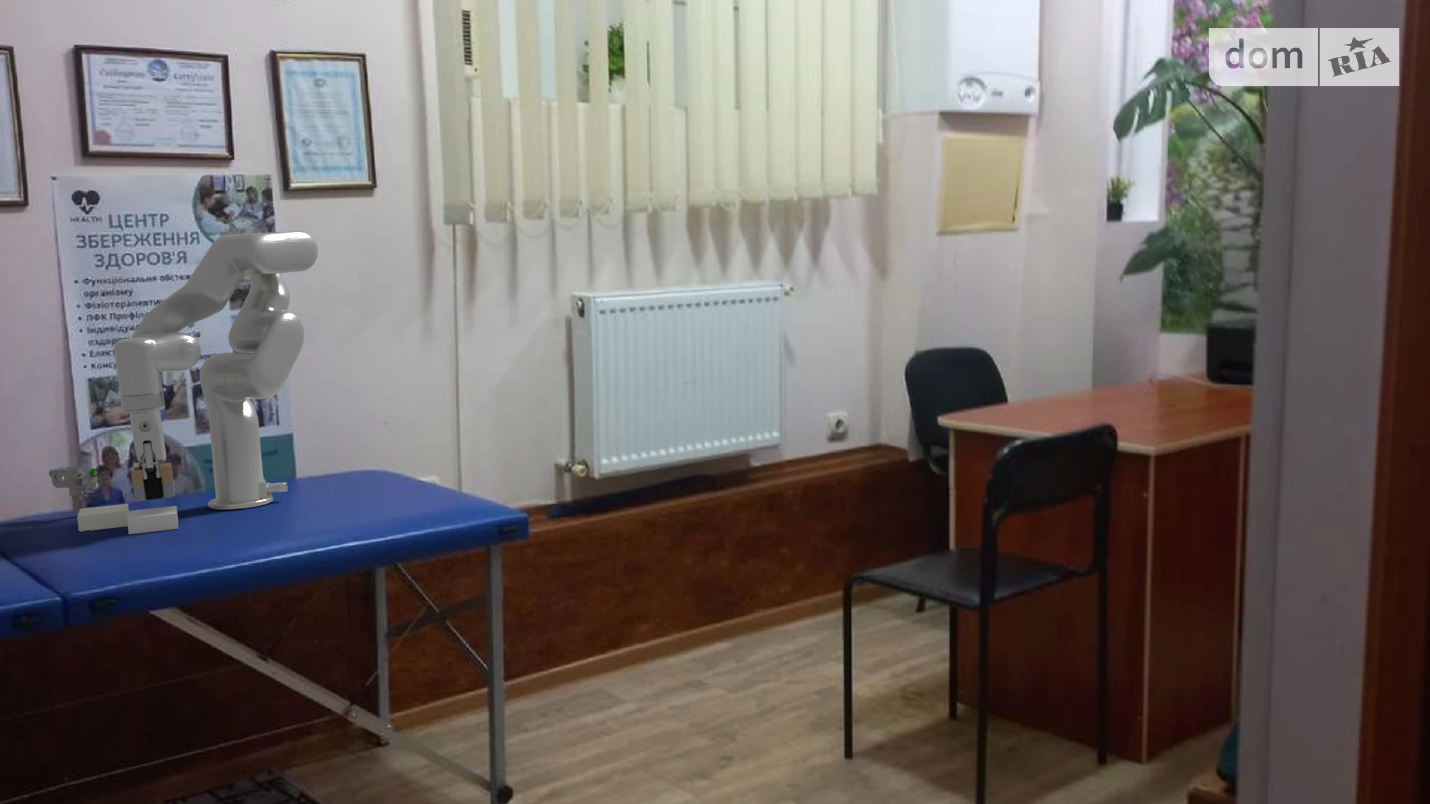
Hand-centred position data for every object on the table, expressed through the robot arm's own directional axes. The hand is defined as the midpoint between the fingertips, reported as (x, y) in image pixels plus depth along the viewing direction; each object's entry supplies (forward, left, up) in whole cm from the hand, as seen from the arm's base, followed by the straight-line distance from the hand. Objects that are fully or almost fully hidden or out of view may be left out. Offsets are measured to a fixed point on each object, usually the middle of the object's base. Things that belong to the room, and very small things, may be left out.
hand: (154, 495), depth 247 cm
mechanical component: (+15, -22, -6) cm, 27 cm away
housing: (0, 0, 0) cm, 0 cm away
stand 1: (+10, -8, -6) cm, 14 cm away
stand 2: (+1, +1, -6) cm, 6 cm away
